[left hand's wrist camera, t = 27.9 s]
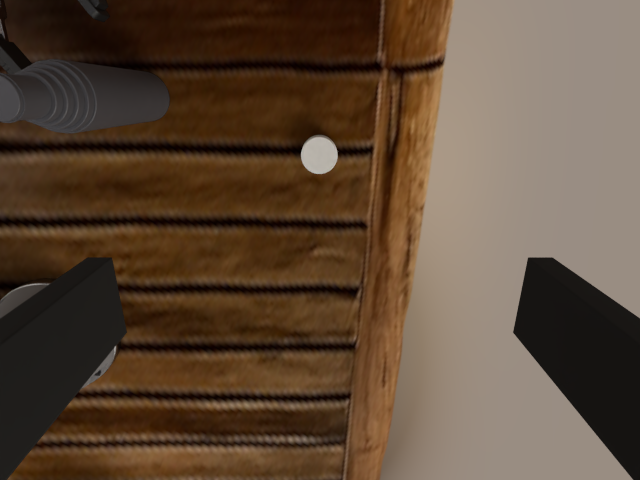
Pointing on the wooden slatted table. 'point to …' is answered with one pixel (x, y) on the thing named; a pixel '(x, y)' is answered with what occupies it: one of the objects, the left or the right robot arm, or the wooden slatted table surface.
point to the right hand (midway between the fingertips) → (68, 50)
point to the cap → (319, 154)
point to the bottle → (81, 96)
